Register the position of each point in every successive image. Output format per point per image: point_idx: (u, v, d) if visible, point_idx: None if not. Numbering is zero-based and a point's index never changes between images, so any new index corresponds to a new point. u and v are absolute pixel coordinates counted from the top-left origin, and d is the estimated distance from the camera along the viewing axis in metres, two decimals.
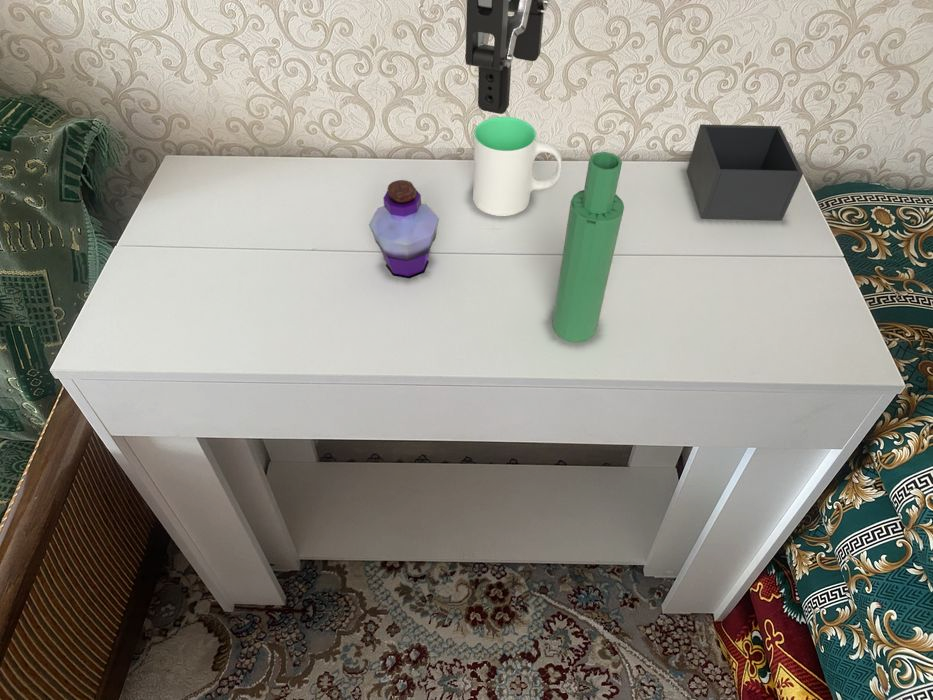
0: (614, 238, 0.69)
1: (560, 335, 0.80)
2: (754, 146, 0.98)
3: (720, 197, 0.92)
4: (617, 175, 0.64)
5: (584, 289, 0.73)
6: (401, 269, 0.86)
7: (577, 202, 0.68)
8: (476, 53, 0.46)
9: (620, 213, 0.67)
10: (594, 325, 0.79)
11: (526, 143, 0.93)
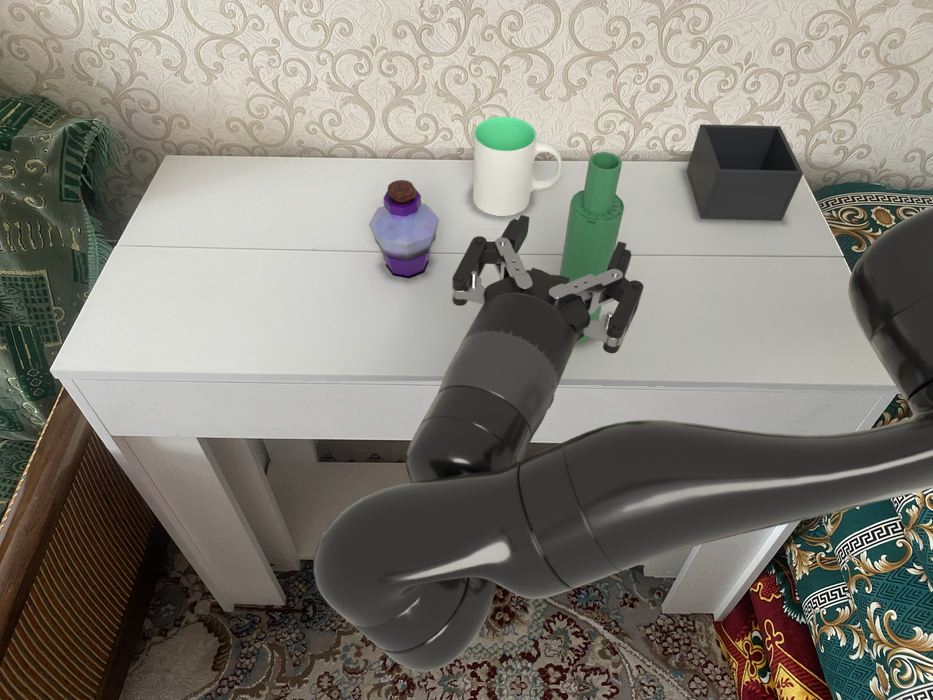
0: (614, 238, 0.69)
1: None
2: (754, 146, 0.98)
3: (720, 197, 0.92)
4: (617, 175, 0.64)
5: None
6: (401, 269, 0.86)
7: (577, 202, 0.68)
8: (634, 306, 0.54)
9: (620, 213, 0.67)
10: None
11: (526, 143, 0.93)
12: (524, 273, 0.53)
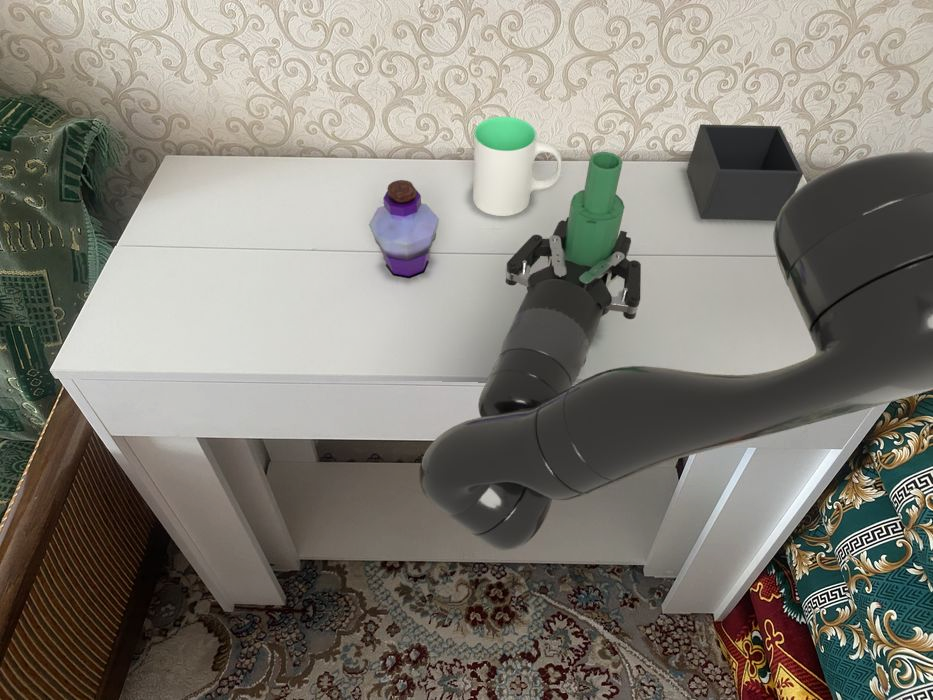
0: (614, 238, 0.69)
1: None
2: (754, 146, 0.98)
3: (720, 197, 0.92)
4: (617, 175, 0.64)
5: None
6: (401, 269, 0.86)
7: (578, 202, 0.68)
8: None
9: (620, 213, 0.67)
10: None
11: (526, 143, 0.93)
12: (562, 264, 0.68)
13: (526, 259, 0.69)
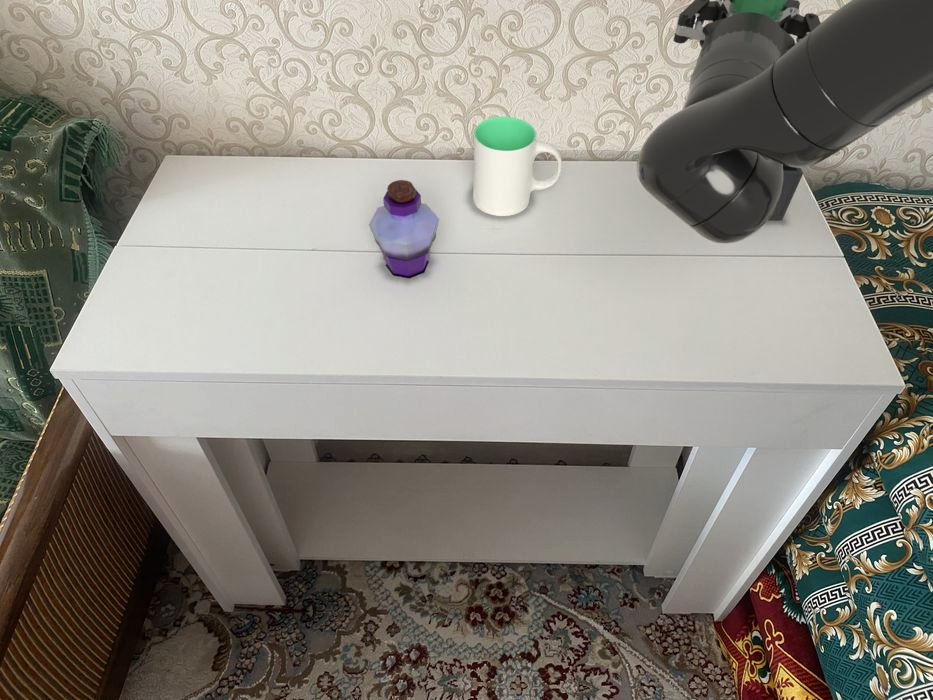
0: None
1: None
2: None
3: None
4: None
5: None
6: (401, 269, 0.86)
7: None
8: None
9: None
10: None
11: (526, 143, 0.93)
12: None
13: None
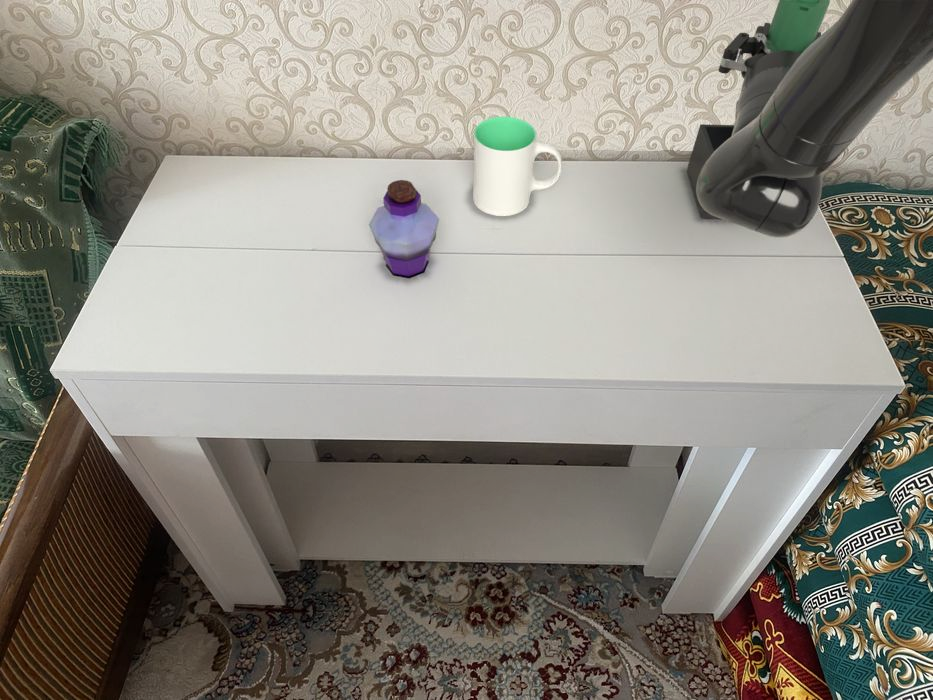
0: (817, 30, 0.79)
1: None
2: None
3: None
4: None
5: None
6: (401, 269, 0.86)
7: None
8: None
9: (828, 2, 0.77)
10: None
11: (526, 143, 0.93)
12: (775, 49, 0.77)
13: (739, 49, 0.79)
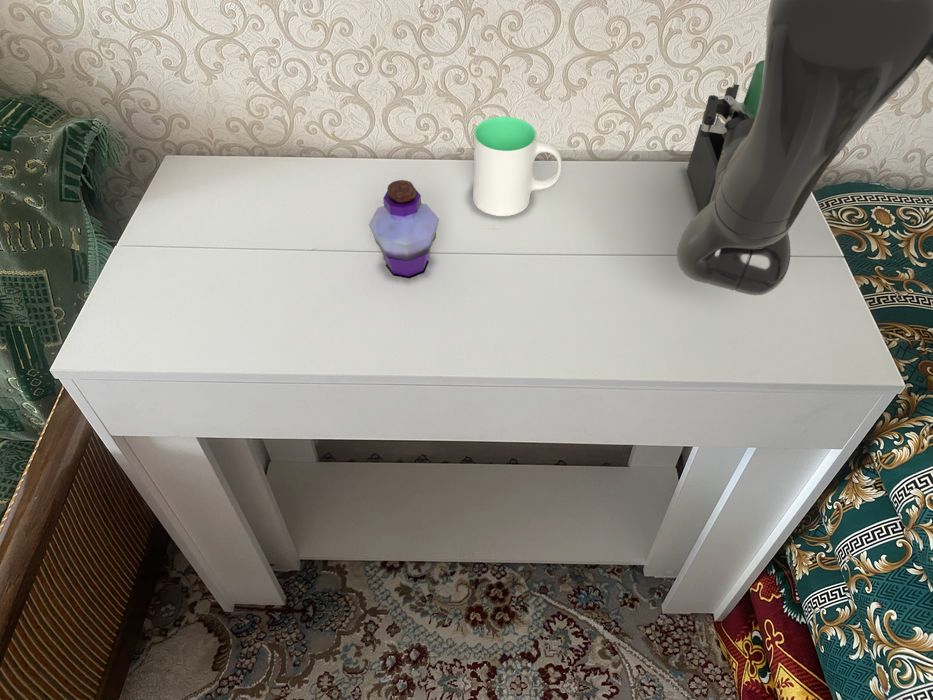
0: None
1: None
2: None
3: None
4: None
5: None
6: (401, 269, 0.86)
7: (761, 68, 0.84)
8: None
9: None
10: None
11: (526, 143, 0.93)
12: (751, 112, 0.83)
13: None
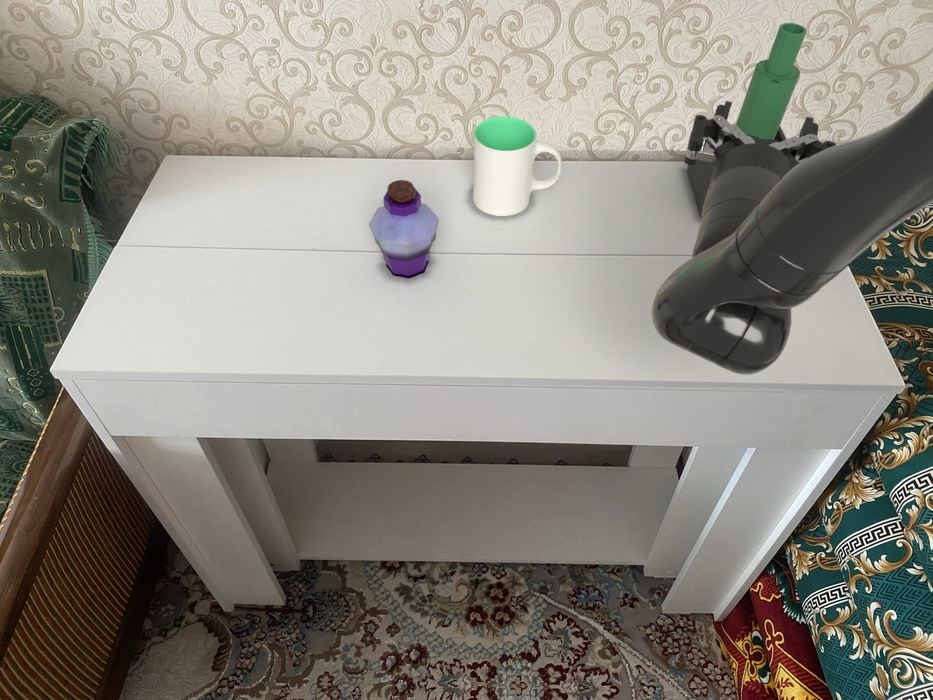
0: (789, 99, 0.85)
1: None
2: None
3: None
4: (802, 40, 0.80)
5: None
6: (401, 269, 0.86)
7: (761, 68, 0.84)
8: None
9: (798, 75, 0.83)
10: None
11: (526, 143, 0.93)
12: (745, 136, 0.70)
13: None
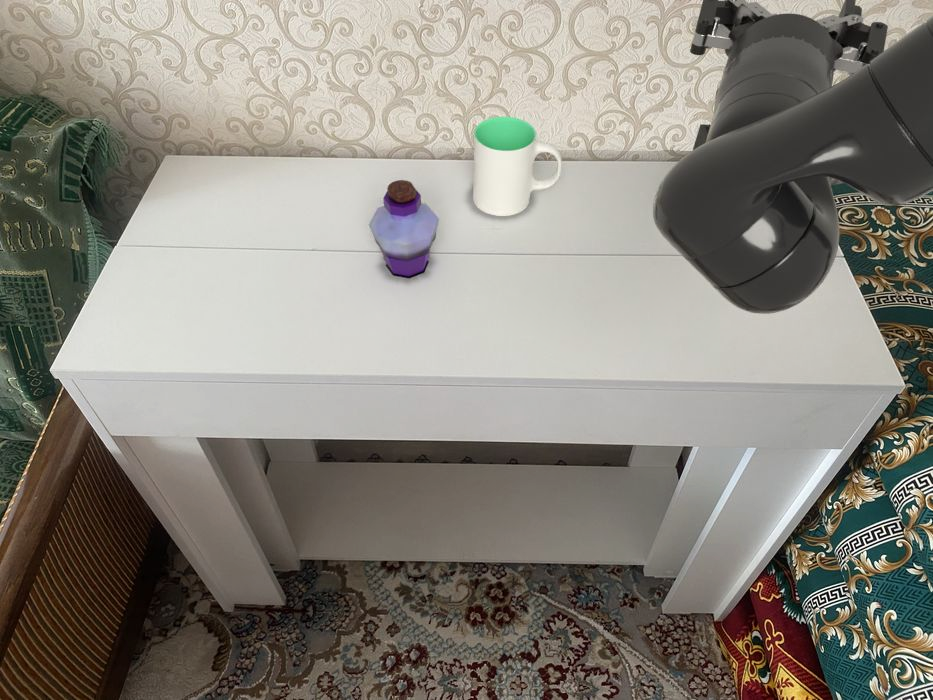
0: None
1: None
2: None
3: None
4: None
5: None
6: (401, 269, 0.86)
7: None
8: None
9: None
10: None
11: (526, 143, 0.93)
12: (769, 14, 0.54)
13: None
